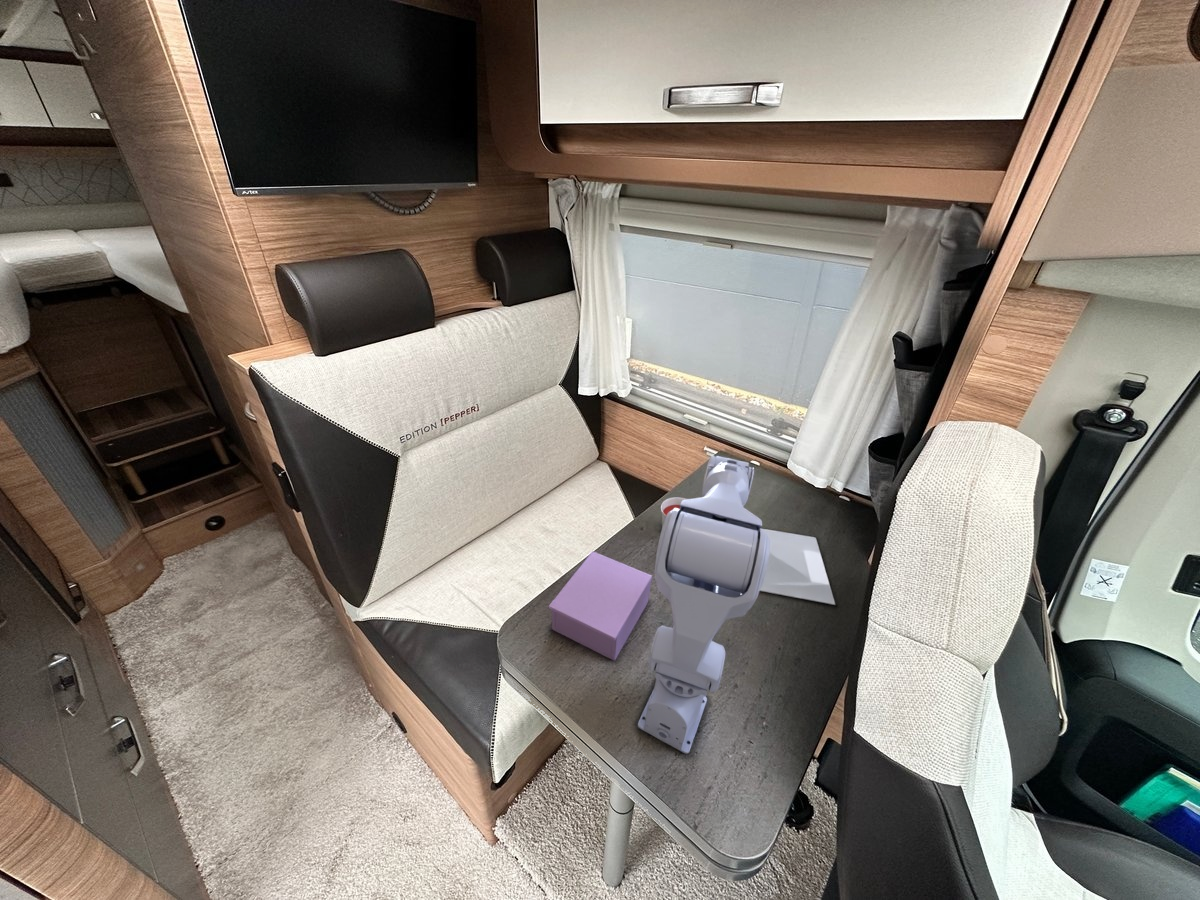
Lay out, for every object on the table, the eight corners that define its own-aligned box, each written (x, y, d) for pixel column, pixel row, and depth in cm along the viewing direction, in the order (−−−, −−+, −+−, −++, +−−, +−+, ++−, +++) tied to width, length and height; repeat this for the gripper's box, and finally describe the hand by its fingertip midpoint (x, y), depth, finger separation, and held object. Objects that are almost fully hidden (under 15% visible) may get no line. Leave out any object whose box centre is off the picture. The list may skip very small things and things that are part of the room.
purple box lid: (614, 640, 75) (615, 638, 74) (548, 608, 79) (548, 605, 79) (651, 578, 87) (652, 575, 86) (592, 553, 91) (592, 550, 91)
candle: (689, 549, 103) (693, 527, 100) (651, 535, 106) (654, 513, 103) (701, 526, 110) (706, 505, 107) (666, 514, 113) (669, 492, 110)
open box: (614, 661, 79) (617, 636, 75) (551, 629, 83) (551, 605, 80) (648, 601, 90) (651, 578, 87) (591, 576, 95) (592, 553, 91)
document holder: (730, 585, 94) (834, 604, 91) (731, 584, 94) (835, 604, 91) (727, 523, 111) (815, 538, 108) (727, 522, 111) (815, 537, 108)
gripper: (769, 527, 73) (750, 588, 80) (681, 498, 79) (670, 558, 86) (760, 555, 68) (740, 618, 75) (666, 521, 73) (656, 583, 80)
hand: (702, 587), depth 80 cm, fingers closed
